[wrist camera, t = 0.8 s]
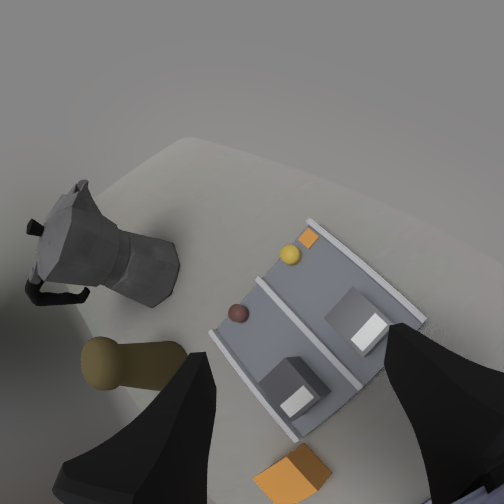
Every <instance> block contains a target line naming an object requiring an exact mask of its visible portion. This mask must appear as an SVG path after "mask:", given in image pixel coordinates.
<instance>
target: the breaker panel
mask: <svg viewBox="0 0 504 504" xmlns="http://www.w3.org/2000/svg"><path fill="white" fill-rule="evenodd" d="M306 223H307V224H308V226H307V228H306V229H305V230H304V231H303V232H302V233H301V235H300V236H299V237H298V238H297V239H296V240H295V242H294V243H293V244H292V245H286V246H284V247H283V248H282V250H281V252H280V257H281V258H280V259H279V260H278V261H277V262H276V263H275V264H274V266H273V267H272V268H271V269H270V270H269V271H268V272H267V274H266V275H265V276H264V277H263V278H262V277H260V276H258V277H257V278H256V279H255V281H256V282H257V283H258V284H257V285H256V286H255V287H254V288H253V289H252V291H251V292H250V293H249V294H248V295H247V296H246V297H245V298H244V299H243V301H242V302H241V303H240V304H234V305H232V306H231V307H230V309H229V312H228V317H227V318H226V319H225V321H224V322H223V323H222V324H221V325H220V326H219V327H218V328H217V329H211V330H210V331H209V332H208V333H209V334H210V336H211V337H212V339H213V340H214V341H215V343H216V344H217V346H218V347H219V348H220V350H221V351H222V352H223V354H224V355H225V356H226V358H227V359H228V361H229V362H230V363H231V365H232V366H233V367H234V369H235V370H236V371H237V373H238V374H239V375H240V377H241V378H242V379H243V380H244V382H245V383H246V384H247V386H248V387H249V388H250V389H251V391H252V392H253V393H254V395H255V396H256V397H257V398H258V400H259V401H260V402H261V403H262V405H263V406H264V407H265V408H266V410H267V411H268V412H269V413H270V414H271V416H272V417H273V418H274V419H275V420H276V422H277V423H278V424H279V425H280V426H281V428H282V429H283V430H284V431H285V432H286V433H287V435H288V436H289V437H290V438H291V439H292V440H293V442H294V443H296V442H297V441H299V440H300V439H301V438H303V437H304V436H305V435H307V434H308V433H309V432H311V431H312V430H313V429H314V428H316V427H317V426H318V425H320V424H321V423H322V422H323V421H324V420H326V419H327V418H328V417H329V416H331V415H332V414H333V413H334V412H335V411H337V410H338V409H339V408H340V407H341V406H342V405H343V404H345V403H346V402H347V401H348V400H349V399H350V398H351V397H353V396H354V395H355V394H356V393H357V392H358V391H359V390H360V389H361V388H362V387H363V386H364V385H365V384H367V383H368V382H369V381H370V380H371V379H372V378H373V377H374V376H375V375H376V374H377V373H378V372H379V371H380V370H381V369H382V368H383V367H384V358H385V352H386V346H387V339H388V336H387V337H386V338H385V339H384V340H383V341H382V342H381V343H380V344H379V345H378V346H377V347H376V348H375V349H374V351H373V352H372V353H371V354H370V355H369V356H366V357H362V356H361V355H360V354H359V353H358V352H357V351H356V350H355V349H354V348H353V347H352V346H351V345H350V344H349V343H348V342H347V341H346V340H345V339H344V338H343V337H342V336H341V335H340V334H339V333H338V332H337V331H336V330H335V329H334V328H333V327H332V326H331V325H330V324H329V323H328V322H327V321H326V320H325V319H324V317H325V316H326V315H327V314H328V313H329V312H330V311H331V309H332V308H333V307H334V306H335V305H336V304H337V303H338V302H339V301H340V300H341V298H342V297H343V296H344V295H345V294H346V293H347V292H348V291H349V289H350V288H351V287H352V286H353V287H354V288H355V289H356V290H358V291H359V292H360V293H361V294H362V295H363V296H364V297H365V298H366V299H367V300H368V301H370V302H371V303H372V304H373V305H374V306H375V307H376V308H377V309H378V310H379V311H380V312H381V313H382V314H384V315H385V316H386V317H387V318H388V319H389V320H390V321H391V322H392V323H393V324H398V323H402V322H403V323H405V324H407V325H408V326H410V327H412V328H413V329H415V330H418V329H419V327H420V326H421V325H422V324H423V323H424V321H425V320H426V319H427V318H426V317H425V316H424V315H423V314H422V313H421V312H420V311H419V310H418V309H417V308H416V307H414V306H413V305H412V304H411V303H410V302H409V301H408V300H407V299H406V298H405V297H403V296H402V295H401V294H400V293H399V292H398V291H397V290H396V289H395V288H393V287H392V286H391V285H390V284H389V283H388V282H387V281H385V280H384V279H383V278H382V277H381V276H380V275H379V274H377V273H376V272H375V271H374V270H373V269H372V268H370V267H369V266H368V265H367V264H366V263H365V262H363V261H362V260H361V259H360V258H359V257H357V256H356V255H355V254H354V253H353V252H351V251H350V250H349V249H348V248H347V247H345V246H344V245H343V244H342V243H341V242H339V241H338V240H337V239H336V238H334V237H333V236H332V235H331V234H329V233H328V232H327V231H326V230H324V229H323V228H322V227H321V226H319V225H318V224H317V223H316V222H314V221H313V220H312V219H311V218H308V219H307V221H306ZM297 356H300V357H301V358H302V359H303V361H304V362H305V363H306V364H307V365H308V366H309V367H310V368H311V369H312V371H313V372H314V373H315V374H316V375H317V376H318V377H319V378H320V379H321V380H322V381H323V383H324V384H325V385H326V386H327V387H328V388H329V389H330V390H331V392H330V393H329V394H328V395H327V396H326V397H324V398H323V399H322V400H321V401H320V402H319V403H318V404H316V405H315V406H314V407H313V408H312V409H310V410H309V411H308V412H307V413H306V414H304V415H303V416H301V417H299V418H298V419H296V420H294V421H292V422H290V421H289V420H288V419H287V418H286V417H285V415H284V414H283V413H282V412H281V411H280V410H279V408H278V407H277V406H276V405H275V404H274V402H273V401H272V400H271V399H270V398H269V396H268V395H267V394H266V393H265V391H264V390H263V389H262V388H261V386H260V385H259V384H258V382H260V381H261V380H262V379H263V378H264V377H265V376H266V375H267V374H268V373H269V372H270V371H271V370H272V369H273V368H275V367H276V366H277V365H278V364H279V363H280V362H281V361H282V360H283V359H284V358H285V357H297Z"/></svg>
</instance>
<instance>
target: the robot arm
mask: <svg viewBox="0 0 504 504" xmlns="http://www.w3.org/2000/svg"><path fill="white" fill-rule="evenodd" d="M384 366H385V369H386V372H387V375H388V378H389V380H390V383H391V385H392V387H393V389H394V391H395V393H396V395H397V397H398V399H399V401H400V403H401V404H402V406H403V408H404V410H405V412H406V414H407V416H408V418H409V420H410V422H411V424H412V427H413V429H414V431H415V434H416V437H417V440H418V443H419V446H420V449H421V453H422V456H423V460H424V464H425V468H426V472H427V477H428V482H429V487H430V494H431V499H430V500H429V501H427V502H426V503H424V504H504V373H503V372H500V371H496V370H493V369H490V368H487V367H484V366H482V365H479V364H477V363H474V362H472V361H470V360H467V359H465V358H463V357H461V356H459V355H457V354H455V353H454V352H452V351H450V350H448V349H446V348H444V347H443V346H441V345H439V344H438V343H436V342H434V341H433V340H431V339H429V338H428V337H426V336H425V335H423V334H421V333H420V332H418V331H417V330H415V329H413V328H412V327H410V326H408V325H407V324H405V323H403V322H402V323H398V324H394V325H389V332H388V339H387V346H386V352H385V358H384ZM215 413H216V385H215V382H214V379H213V375H212V372H211V369H210V365H209V362H208V358H207V355H206V352H197V353H190V354H189V355H188V356H187V358H186V359H185V361H184V362H183V363H182V365H181V366H180V367H179V369H178V370H177V372H176V373H175V374H174V376H173V377H172V378H171V379H170V381H169V382H168V383H167V385H166V386H165V387H164V388H163V390H162V391H161V392H160V393H159V394H158V395H157V397H156V398H155V399H154V400H153V401H152V402H151V403H150V404H149V406H148V407H147V408H146V409H145V410H144V411H143V412H142V413H141V414H140V415H139V416H138V417H136V418H135V419H134V420H133V421H132V422H131V423H130V424H129V425H127V426H126V427H124V428H123V429H122V430H120V431H119V432H118V433H117V434H115V435H114V436H113V437H111V438H110V439H108V440H107V441H105V442H104V443H102V444H100V445H99V446H97V447H95V448H94V449H92V450H90V451H88V452H86V453H84V454H82V455H80V456H77V457H75V458H73V459H71V460H69V461H66V462H64V463H63V465H62V467H61V469H60V472H59V474H58V476H57V479H56V481H55V484H54V486H53V489H52V492H53V494H54V495H55V496H56V497H57V498H58V499H59V500H60V501H62V502H63V503H64V504H207V467H208V456H209V450H210V444H211V438H212V432H213V426H214V419H215Z"/></svg>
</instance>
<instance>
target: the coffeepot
mask: <svg viewBox="0 0 504 504" xmlns="http://www.w3.org/2000/svg"><path fill="white" fill-rule="evenodd" d="M26 233H27V234H29V235H35V236H40V237H39V242H38V246H37V261H36V262H35V263H34V264H33V266H32V269H31V271H30V274H29V278H28V280H27V283H26V285H25V292H26V294H27V295H28V297H29V298H30V300H31V301H32V303H33V304H35V305H36V306H49V305H66V304H78V303H84V302H85V301H86V299H87V297H88V295H89V293H90V290H89V289H88V288H87V287H84V290H83V291H82V292H81V293H80V294H72V293H68V292H65V293H59V294H57V293H50V292H43V293H41V292H40V291H39V290H40V288H41V286H42V285H43V283H44V282H45V281H49V282H57V283H66V284H75V285H84V286H94V287H97V286H98V285H104V286H106V287H107V288H109V289H111V290H113V291H116V292H118V293H120V294H122V295H124V296H126V297H128V298H130V299H133V300H135V301H137V302H139V303H141V304H144V305H146V306H148V307H150V308H152V307H154V306H156V305H157V304H159V303H161V302H162V301H164V300H165V299H166V298H167V297H168V295H170V293H171V291H172V289H173V287H174V285H175V282H176V279H177V275H178V269H179V261H178V255H177V252H176V250H175V248H174V246H173V243H172V242H168V241H164V240H160V239H156V238H151V237H147V236H143V235H139V234H135V233H131V232H126V231H122V230H120V229H118V228H117V225H116V224H115V223H113V222H112V221H110V220H109V219H107V218H106V217H104V216H103V215H102V214H101V212H100V211H99V209H98V207H97V206H96V204H95V202H94V200H93V199H92V197H91V194H90V192H89V190H88V180H81V181H79V182H78V184H76V185H75V186H74V187H73V188H72V189H71V191H70V192H69V193H68V194H67V195H62V196H61V197H60V198H59V200H58V201H57V202H56V204H55V205H54V207H53V208H52V210H51V211H50V213H49V214H48V216H47V218H46V221H45V223H44V225H43V226H42V225H41V224H39V223H38V222H36V221H35V220H33V219H31V220H30V221H29V223H28V225H27V232H26Z"/></svg>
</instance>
